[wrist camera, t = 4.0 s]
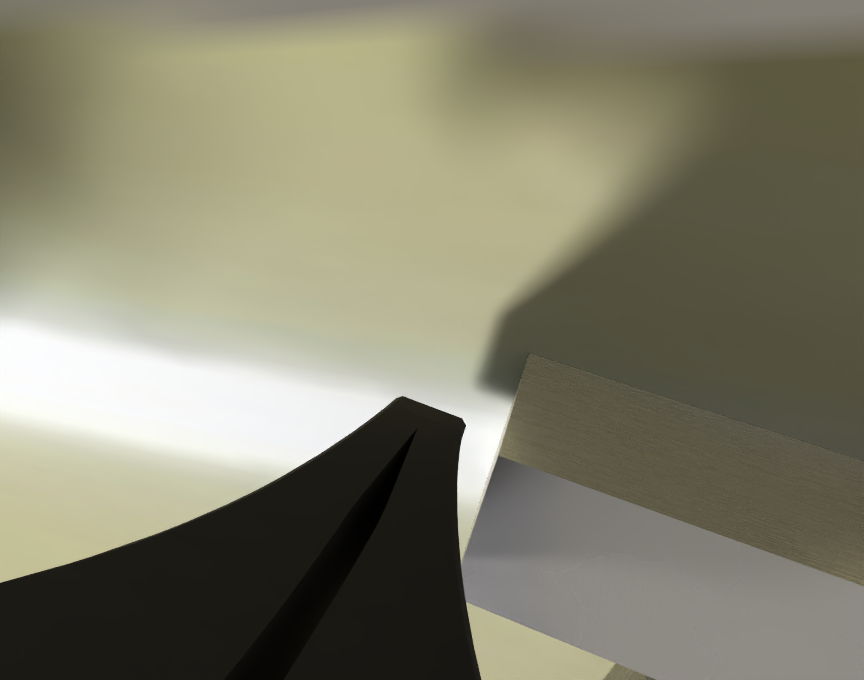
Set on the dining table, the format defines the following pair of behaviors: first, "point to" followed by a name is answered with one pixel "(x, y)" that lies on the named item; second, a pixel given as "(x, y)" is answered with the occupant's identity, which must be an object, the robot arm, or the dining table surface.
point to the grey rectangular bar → (669, 535)
